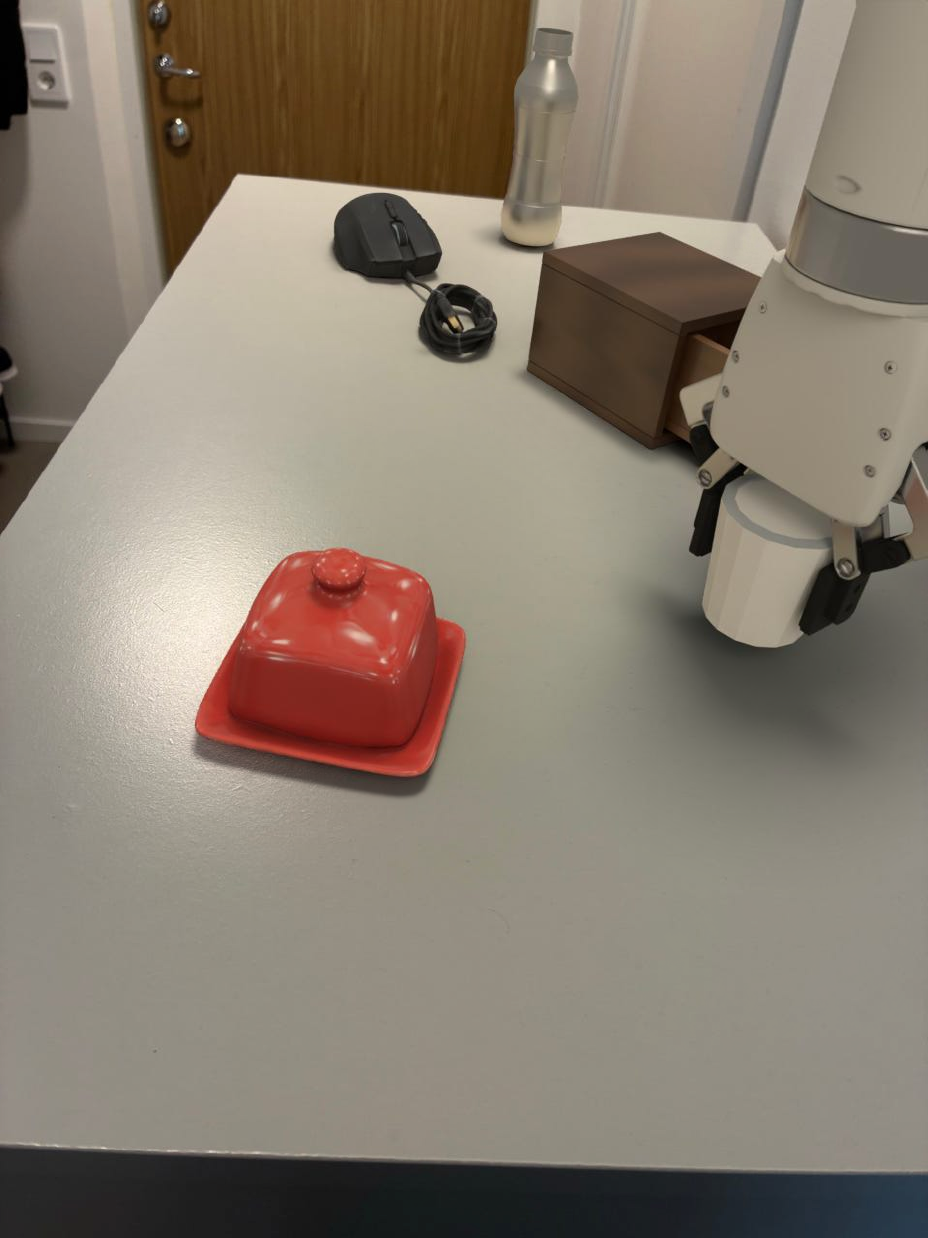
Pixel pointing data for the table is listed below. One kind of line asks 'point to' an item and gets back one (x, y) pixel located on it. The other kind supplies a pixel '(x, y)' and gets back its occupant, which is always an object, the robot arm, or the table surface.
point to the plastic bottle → (540, 141)
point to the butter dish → (338, 667)
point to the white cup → (764, 562)
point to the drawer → (699, 369)
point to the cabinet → (629, 323)
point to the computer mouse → (410, 266)
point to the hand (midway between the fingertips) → (764, 582)
